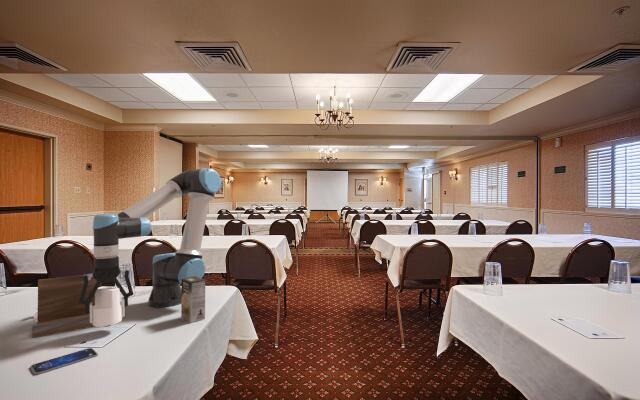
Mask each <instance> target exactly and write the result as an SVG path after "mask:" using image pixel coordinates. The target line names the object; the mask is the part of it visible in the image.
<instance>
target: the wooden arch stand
mask: <svg viewBox="0 0 640 400" xmlns="http://www.w3.org/2000/svg"><path fill="white" fill-rule="evenodd" d="M83 276H84V274H82V275H80V274H79V275H71V276H70V275H69V276H62V277H54V278H42V279H37V308H38V310H37V312H38V319H37V322H36V324H35V325H32V326H31V329H32V331H31V338H32V339H33V338H34V339H35V338H39V337H45V336H49V335H55V334H63V333H68V332H72V331H77V330H83V329H89V328H95V327H96V326H93V323H90V313H88V314H86V305H85V304H79V300H80V296H81V292H82V288H83V284H84V278H83ZM96 281H97V280H96V279H95V278H94V277H91V280H89V281H88V286H87V290H86V294H85V298H84V300H87V298H88V296H89V294H90V292H91V291H92V289H93V287H94V285H95V283H96ZM99 287H102V283H101V284H100V286H99ZM99 287H98V288H99ZM90 303H92V307H93V306H95V294H94V296H93V298H92V300H91V302H90Z"/></svg>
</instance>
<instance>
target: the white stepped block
mask: <svg viewBox="0 0 640 400" xmlns="http://www.w3.org/2000/svg"><path fill="white" fill-rule="evenodd" d="M120 294H121V292H120V288H117V287H109V286H101V287H99V288H98V289H97V291H96V293H95V306H93V307H92V317H93V326H95V327H97V328H98V327H107V326H112V325H115V324H118V323H120V322H121V321H122V320H123V317H122V301H120V298H121V297H120V296H121V295H120Z"/></svg>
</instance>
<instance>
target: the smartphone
mask: <svg viewBox="0 0 640 400" xmlns="http://www.w3.org/2000/svg"><path fill="white" fill-rule="evenodd" d="M96 357H99V353H98V352H97V351H96V350H95V349H94V348H92V347H89V348H85V349H82V350H79V351H75V352H71V353H69V354H68V353H67V354H64V355H60V356H58V357H54V358H51V359H47V360H44V361H43V360H42V361H40V362H36V363H33V364H32V365H30V366H29V370H30V371H31V373H32V375H33V376H39V375H43V374H46V373H49V372H52V371H55V370H59V369H62V368H65V367H68V366H71V365H75V364H76V363H80V362H84V361H86V360H90V359H93V358H96Z"/></svg>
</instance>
